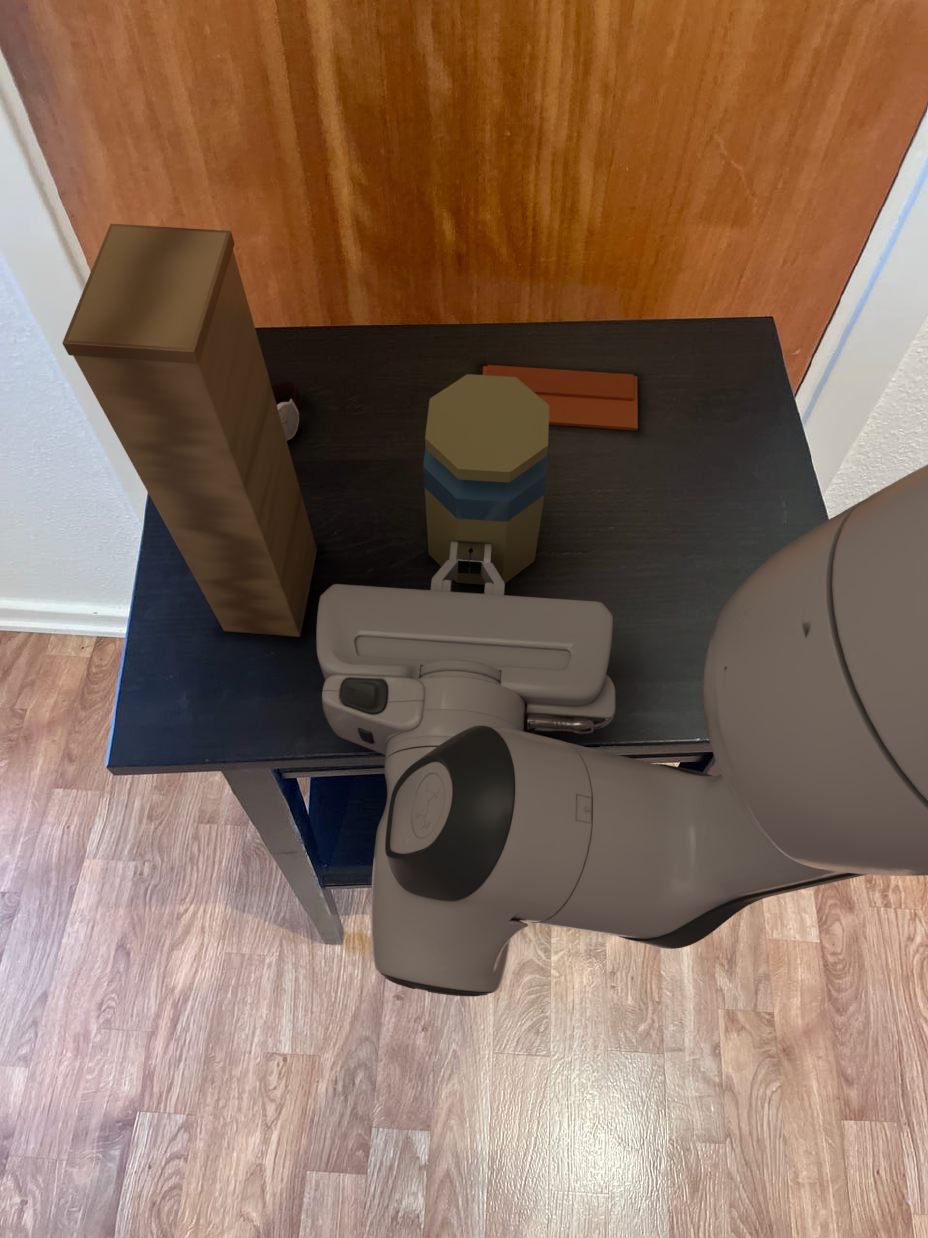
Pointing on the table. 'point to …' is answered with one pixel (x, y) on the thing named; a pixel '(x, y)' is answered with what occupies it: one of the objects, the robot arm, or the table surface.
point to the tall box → (198, 417)
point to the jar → (486, 471)
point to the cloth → (580, 395)
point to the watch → (288, 406)
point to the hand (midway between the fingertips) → (471, 546)
